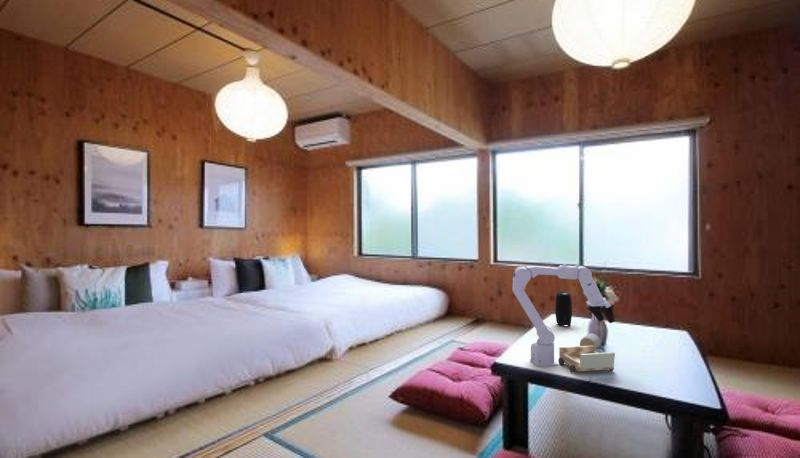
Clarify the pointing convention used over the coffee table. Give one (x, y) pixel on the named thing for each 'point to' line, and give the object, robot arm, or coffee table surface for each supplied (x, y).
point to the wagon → (576, 357)
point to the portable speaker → (563, 308)
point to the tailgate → (597, 360)
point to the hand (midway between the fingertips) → (606, 321)
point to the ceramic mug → (592, 342)
